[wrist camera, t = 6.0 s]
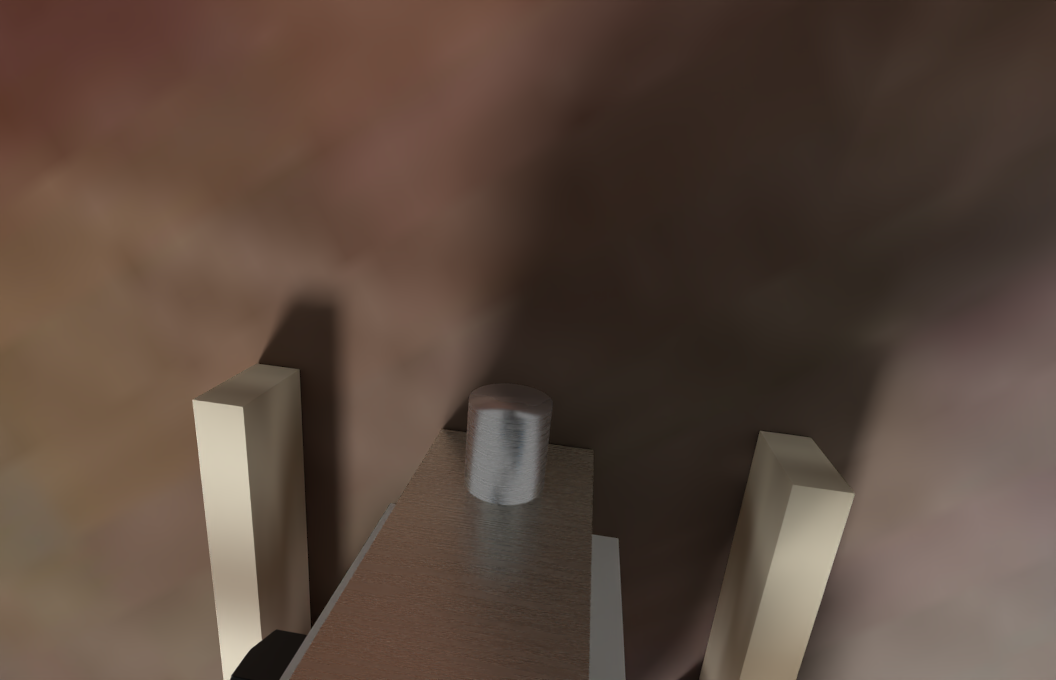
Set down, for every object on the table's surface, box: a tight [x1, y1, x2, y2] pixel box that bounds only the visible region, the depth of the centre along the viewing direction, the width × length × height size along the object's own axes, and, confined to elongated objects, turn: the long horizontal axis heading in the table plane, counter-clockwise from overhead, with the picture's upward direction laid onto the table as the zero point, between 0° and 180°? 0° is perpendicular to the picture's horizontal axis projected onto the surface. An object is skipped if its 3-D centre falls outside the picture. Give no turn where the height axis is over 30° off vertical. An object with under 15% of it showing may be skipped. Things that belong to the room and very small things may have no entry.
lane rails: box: [193, 364, 855, 680], centre depth 14 cm, size 9×14×2 cm, turn 85°
